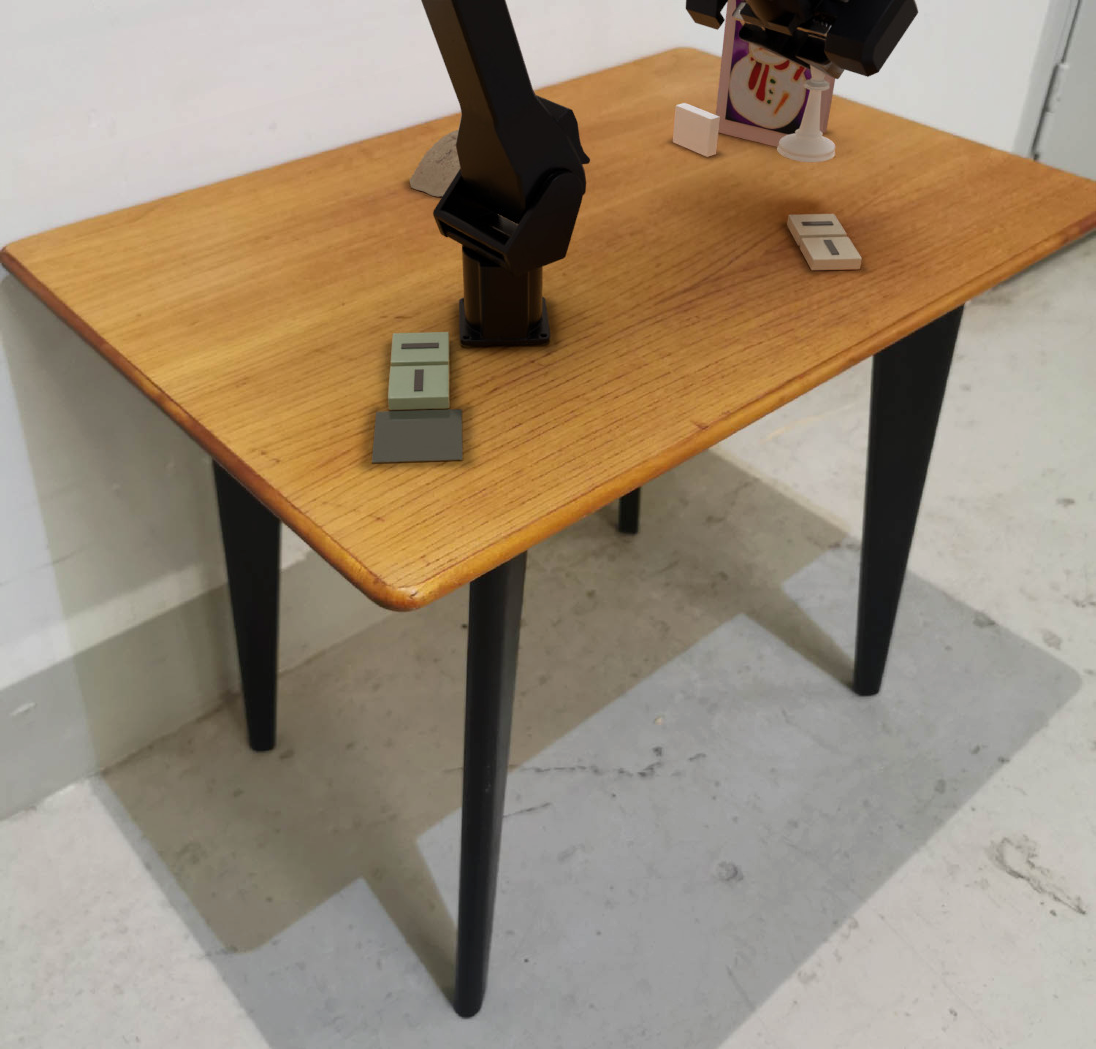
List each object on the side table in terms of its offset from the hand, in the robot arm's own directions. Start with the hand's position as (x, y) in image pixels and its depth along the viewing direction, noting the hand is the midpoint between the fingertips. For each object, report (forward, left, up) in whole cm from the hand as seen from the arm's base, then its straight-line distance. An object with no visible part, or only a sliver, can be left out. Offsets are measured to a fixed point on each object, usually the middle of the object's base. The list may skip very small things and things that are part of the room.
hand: (829, 70), depth 93 cm
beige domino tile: (-9, +1, -11) cm, 15 cm away
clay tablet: (+8, +28, -12) cm, 31 cm away
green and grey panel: (-30, +34, -11) cm, 47 cm away
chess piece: (-1, +1, -7) cm, 7 cm away
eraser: (+13, +8, -12) cm, 19 cm away
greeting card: (+16, -1, -12) cm, 20 cm away
